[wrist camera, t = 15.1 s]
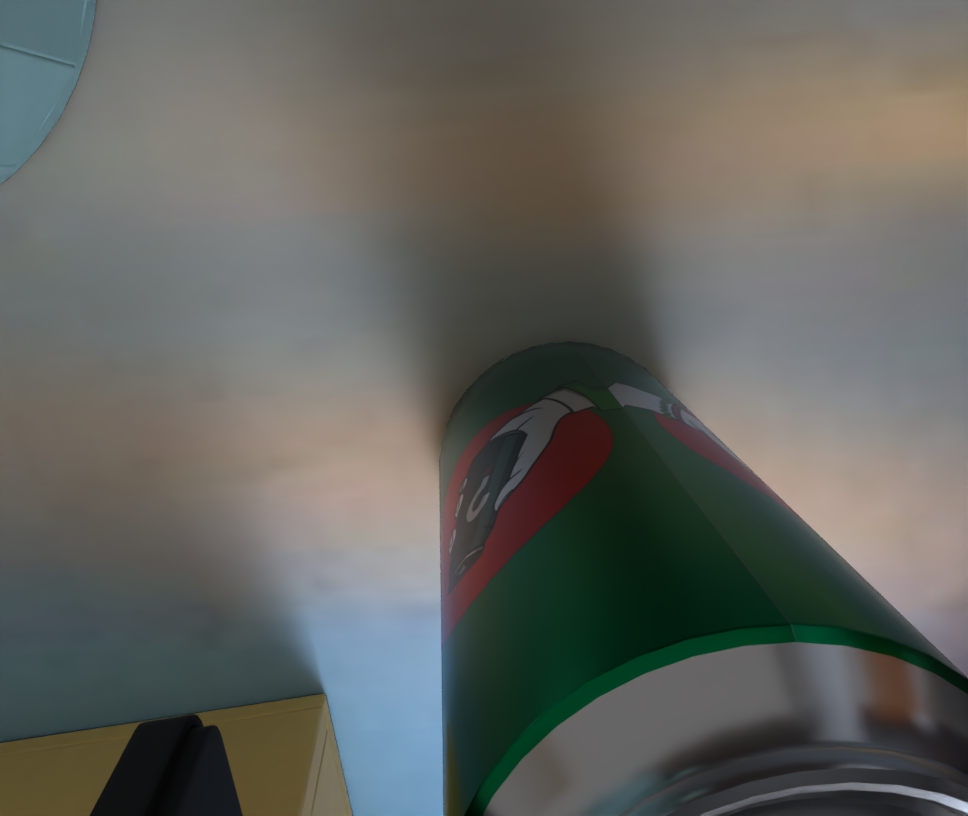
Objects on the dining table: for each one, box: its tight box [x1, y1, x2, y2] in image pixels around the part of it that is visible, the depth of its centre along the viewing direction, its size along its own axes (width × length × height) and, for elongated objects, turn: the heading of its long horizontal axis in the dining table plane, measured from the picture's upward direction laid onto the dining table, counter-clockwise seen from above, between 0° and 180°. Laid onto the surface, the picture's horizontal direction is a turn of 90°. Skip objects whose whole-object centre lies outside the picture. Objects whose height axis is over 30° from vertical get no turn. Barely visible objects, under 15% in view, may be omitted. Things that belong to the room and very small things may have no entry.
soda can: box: [439, 342, 968, 816], centre depth 12 cm, size 5×5×12 cm
